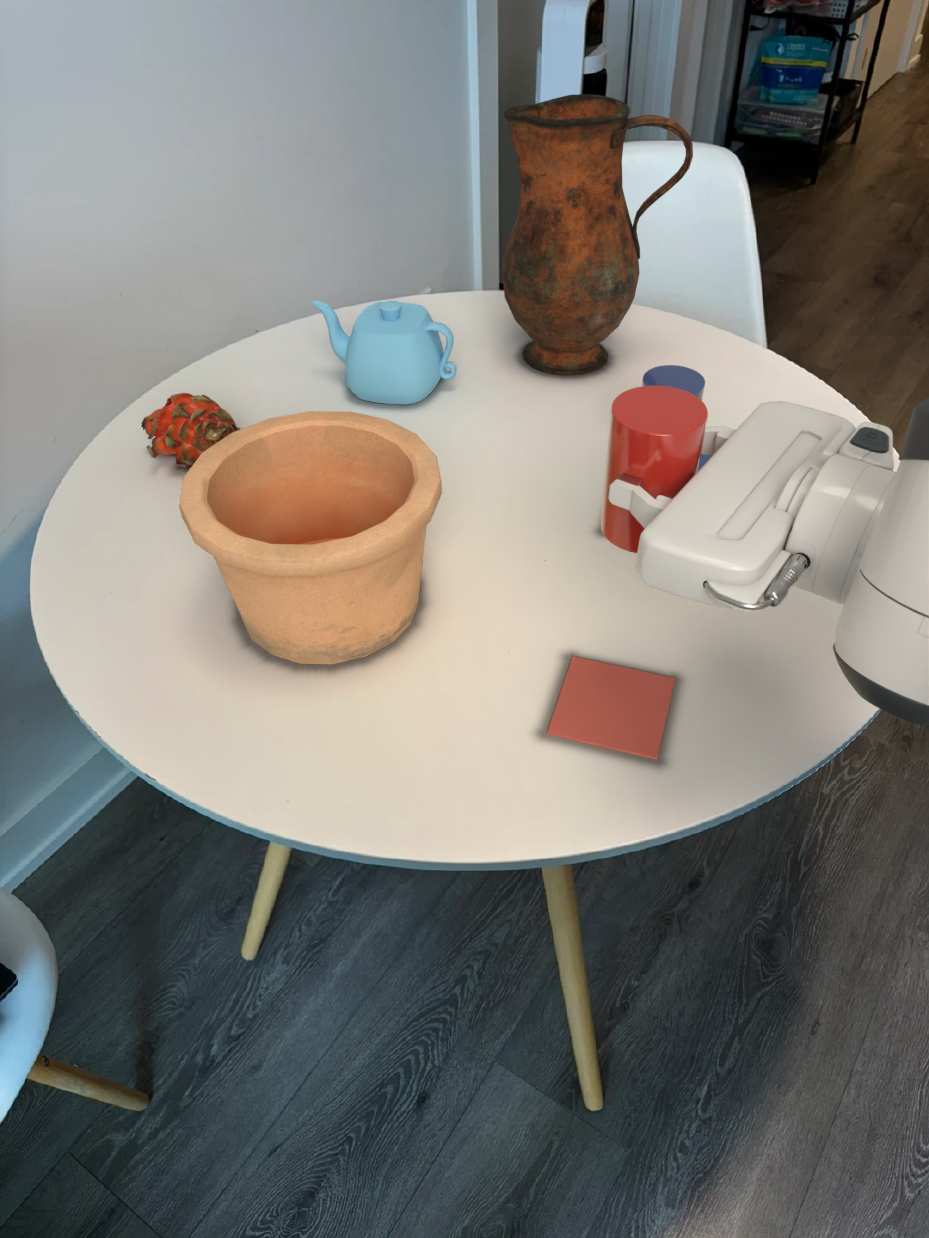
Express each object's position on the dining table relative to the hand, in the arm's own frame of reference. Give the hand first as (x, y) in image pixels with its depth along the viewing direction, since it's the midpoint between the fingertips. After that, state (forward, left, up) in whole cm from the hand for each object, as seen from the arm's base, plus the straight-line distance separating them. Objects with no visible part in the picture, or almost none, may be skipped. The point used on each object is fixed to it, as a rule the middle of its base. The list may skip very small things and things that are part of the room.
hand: (641, 460), depth 65 cm
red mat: (-1, +4, -22) cm, 22 cm away
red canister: (-1, 0, -6) cm, 6 cm away
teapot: (+37, -41, -22) cm, 60 cm away
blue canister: (+1, -33, -21) cm, 39 cm away
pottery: (+27, -1, -22) cm, 35 cm away
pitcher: (+15, -54, -22) cm, 60 cm away
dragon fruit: (+52, -19, -22) cm, 60 cm away
